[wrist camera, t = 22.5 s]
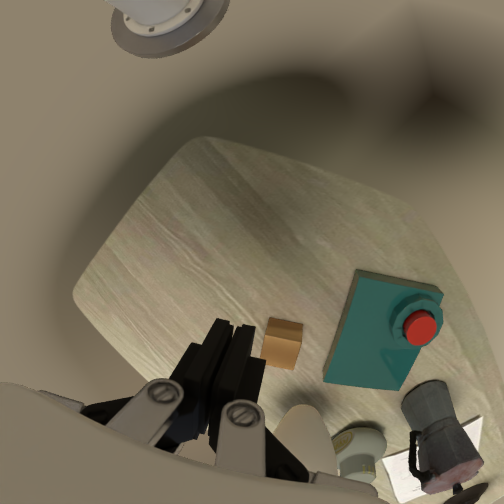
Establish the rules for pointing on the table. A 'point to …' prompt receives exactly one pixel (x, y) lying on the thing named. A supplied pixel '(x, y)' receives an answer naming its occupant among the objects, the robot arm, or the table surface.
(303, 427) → the cup
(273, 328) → the block
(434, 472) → the moka pot
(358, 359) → the button base
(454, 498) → the lamp
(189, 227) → the table surface
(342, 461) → the air freshener
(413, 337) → the red button
